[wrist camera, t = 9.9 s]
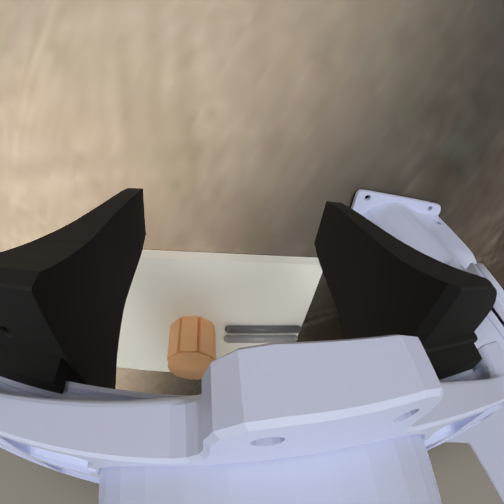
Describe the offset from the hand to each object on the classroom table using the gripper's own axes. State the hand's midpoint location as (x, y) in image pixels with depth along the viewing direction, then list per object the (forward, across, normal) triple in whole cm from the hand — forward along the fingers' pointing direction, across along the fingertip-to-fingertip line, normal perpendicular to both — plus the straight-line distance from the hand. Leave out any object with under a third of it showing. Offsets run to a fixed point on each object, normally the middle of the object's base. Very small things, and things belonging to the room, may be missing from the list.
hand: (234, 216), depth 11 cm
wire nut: (+8, +2, +18) cm, 20 cm away
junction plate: (+9, +2, +18) cm, 20 cm away
